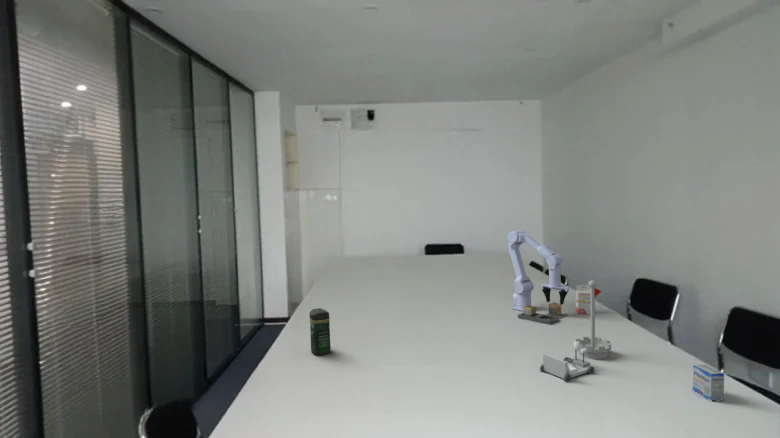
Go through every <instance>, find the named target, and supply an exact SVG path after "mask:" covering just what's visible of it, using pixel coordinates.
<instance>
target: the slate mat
mask: <svg viewBox="0 0 780 438" xmlns="http://www.w3.org/2000/svg"><path fill="white" fill-rule="evenodd" d="M544 315H549V312H548V313H545V314H544ZM567 316H568V314H566V313H561V315H560V316H557V317H559V320H560V319H562V318H565V317H567ZM555 317H556V316H555Z"/></svg>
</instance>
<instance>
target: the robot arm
mask: <svg viewBox="0 0 780 438" xmlns="http://www.w3.org/2000/svg"><path fill="white" fill-rule="evenodd" d="M507 240H508V244H507V245H508V246H507V249H508V251H509V256H510V260H511V262H512V266H513V270H514V274H515V276H516V278H515V279H514V282H513V283H514V290H515V292H514V293H513V296H512V310H517V311H522V312H524V306H527V305H531V306H532V291H533V290H534V288H535V287H534V286H535V285H534V283H533V282H532V280H531V278H530V277H529V276H528V275H527V273H526V269H525V266H524V262H523V259H522V254H521V252H520V247H521V245H523V244H524V243H525V244H527V245H528V246H530V247H531V248H533V249H534V250H536V252H537V253H536V254H537V255H538V256H540V257H541V258H542V259H544V260H545V261H546V264H547V265H548V283H541V288H542V289H541V291H542V293H543V294H544V296H545V297H544V298H545V299H546V303H549V302H550V303H551V291H552V290H556V291H558V294H559V303H560V304H561V306H562V305H563V304H564V303H565V299H566V296H567V294H568V292H569V291H570V287H568V286H565V285H561V284H562V280H561V279H562V278H561V277H562V276H561V273H562V271H561V270H562V269H561V264H562V263H563V262H564V259H563V257H562V255H561V254H559V253H556V252H555V251H553V250H551V249H550V248H549V246H548V245H545V244H544V245H543V244H542V245H541V244H540V243H539V242H538V241H536V239H534V238H533V237H532V236H531V235H530V233H529V232H527V231H526V230H523V229H520V230H514V231H510V232H509V234H508V235H507Z"/></svg>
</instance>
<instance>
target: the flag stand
mask: <svg viewBox="0 0 780 438" xmlns="http://www.w3.org/2000/svg"><path fill="white" fill-rule="evenodd" d="M587 285H589V286H590V295H591V314H590V338H589V336H588V335H584V336H581V338H580V337H576V338H575V341H576V342H578V343H580V341H581V343H580V344H582V345H583V346H584V348H583V349H587V351H586V352H585V353H584V358H587V359H593V360H605V359H607V358H609V352H610V351H611V350H612V342H611V341H610V340H609V339H607V338H606V339H605V338H604V340H603V339H602V337H600V336H596V311H595V310H596V309H595V308H596V305H595V304H596V299H595V298H596V297H597V296H598V295H599V294H600V293H601V292H602V290H600V289H598V288H596V287H597V282H596V281H595V280H590V281H589V282H588V284H587ZM578 355H579V356H581V357H583V353H581V352H580V350H579V351H578Z"/></svg>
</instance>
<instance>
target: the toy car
mask: <svg viewBox="0 0 780 438" xmlns="http://www.w3.org/2000/svg"><path fill="white" fill-rule="evenodd" d="M580 343H581V341H580ZM580 343H578V342H576V340H574V341H573V349H574V350H575V351H574V352H575V354H574V356H575V358H572V357H568V356H565V357H564V358H563V359H560V358H557V357H554V356H553V355H552V356H551V355H550V354H547V353H544V354H542V357H543V358H542V361H543V363H542V364H541V365H540V367H539V371H540V372H541V373H544V372H546V373H549V374H551V375H554V376H556V377H559V378H561V379H562V380H563V381H564V382H565V383H568V382H570V381H572V378H574V377H578V376H580V375H584V374H587V375H591V373H592V374H594V373H595V367H594V366H593V365H591V362H589V361H586V360H585V357H584V353H585V352H586V351H587V349H583V348H584V346H583V345H582V344H580ZM579 350H580V352H581V353H583V356H582V358H579V357H577V352H579ZM567 381H568V382H567Z"/></svg>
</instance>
